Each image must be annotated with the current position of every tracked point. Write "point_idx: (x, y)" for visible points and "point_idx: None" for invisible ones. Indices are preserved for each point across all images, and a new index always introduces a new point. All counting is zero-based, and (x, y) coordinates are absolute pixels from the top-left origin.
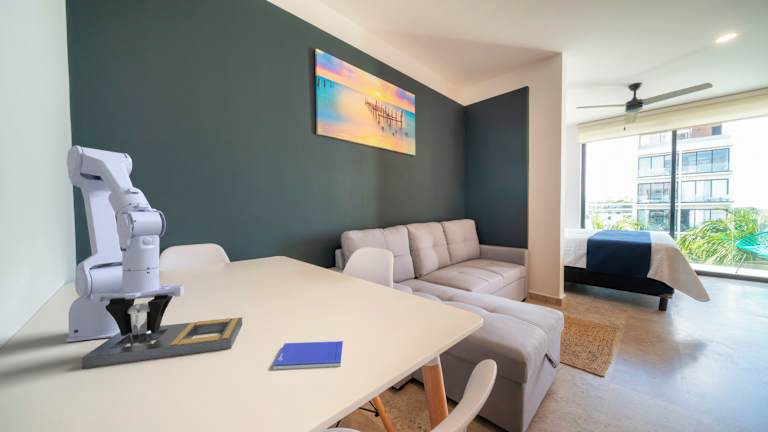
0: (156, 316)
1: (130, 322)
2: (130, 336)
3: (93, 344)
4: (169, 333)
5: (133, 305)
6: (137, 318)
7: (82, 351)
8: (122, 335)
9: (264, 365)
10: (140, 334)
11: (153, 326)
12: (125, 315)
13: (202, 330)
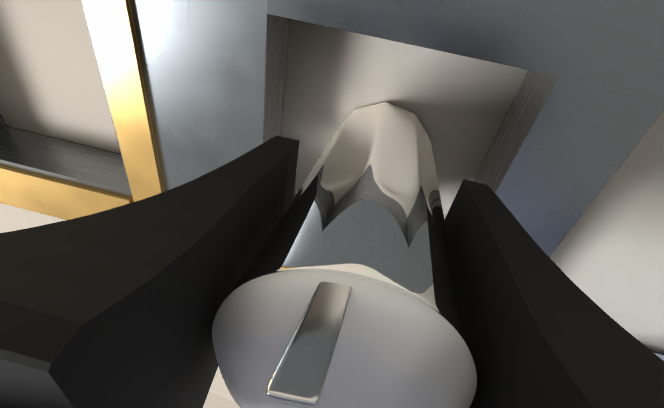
0: (180, 191)
1: (432, 236)
2: (434, 178)
3: (606, 294)
4: (228, 154)
5: None
6: (360, 230)
7: (660, 243)
8: (484, 185)
9: None
10: (363, 144)
11: (259, 152)
12: (487, 331)
13: (112, 164)
